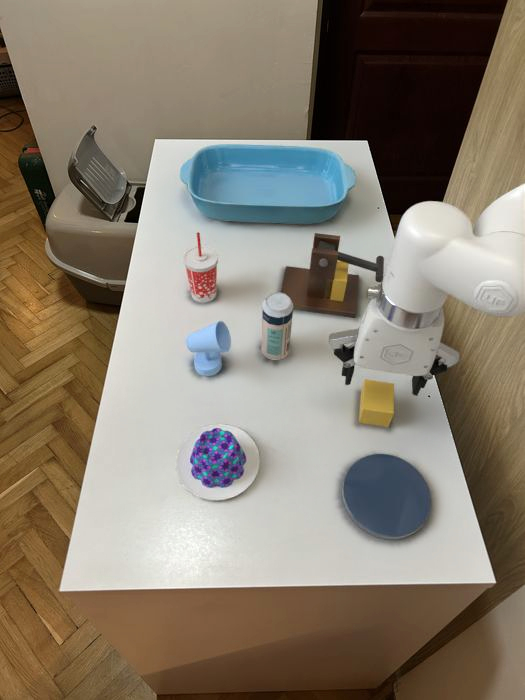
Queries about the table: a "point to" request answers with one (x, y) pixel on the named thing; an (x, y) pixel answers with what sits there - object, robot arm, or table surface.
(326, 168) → the casserole dish
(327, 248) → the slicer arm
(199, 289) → the beverage cup
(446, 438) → the table surface
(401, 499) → the plate
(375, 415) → the butter pat
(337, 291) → the butter
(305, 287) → the slicer
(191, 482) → the pudding
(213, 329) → the spotlight
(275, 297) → the supplement bottle
